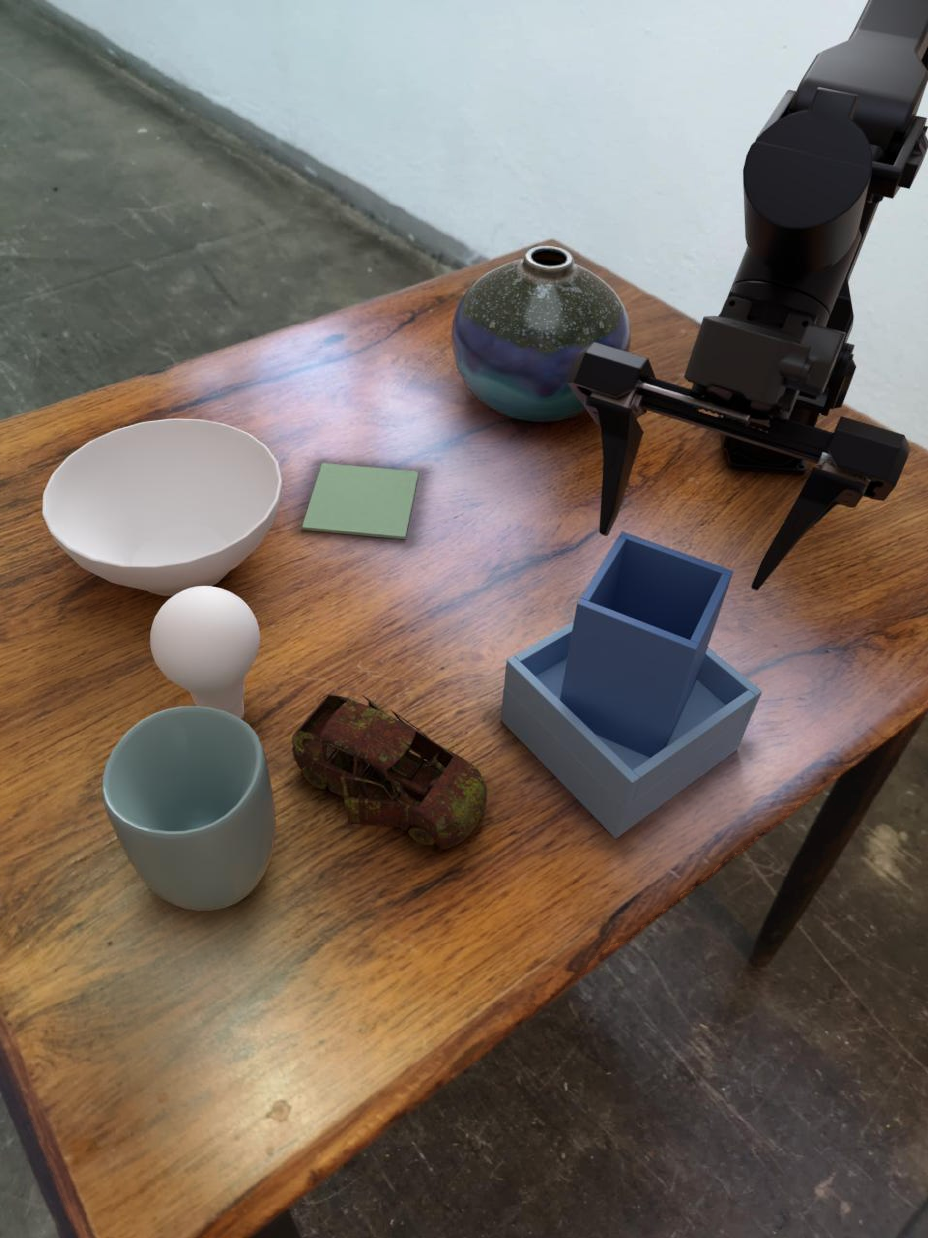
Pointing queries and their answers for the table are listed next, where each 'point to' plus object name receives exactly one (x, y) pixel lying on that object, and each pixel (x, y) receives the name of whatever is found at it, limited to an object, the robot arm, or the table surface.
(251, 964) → the table surface
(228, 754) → the cup
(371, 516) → the mat
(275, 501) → the bowl
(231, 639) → the lightbulb
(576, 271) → the vase
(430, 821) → the toy car
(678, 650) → the upper bin
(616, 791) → the lower bin
